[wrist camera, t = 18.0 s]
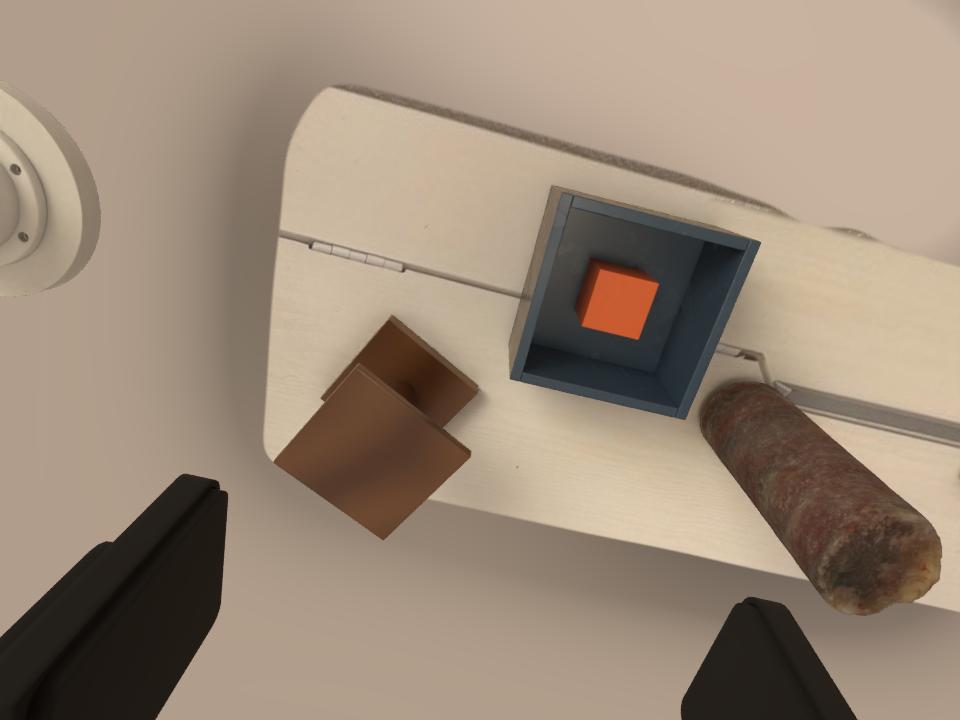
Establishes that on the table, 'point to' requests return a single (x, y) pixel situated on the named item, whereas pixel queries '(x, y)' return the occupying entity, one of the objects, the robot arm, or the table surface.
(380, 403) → the serving stand
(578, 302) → the orange block
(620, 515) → the table surface
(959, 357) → the table surface
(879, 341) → the table surface
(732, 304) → the blue open crate
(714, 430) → the brown textured cylinder
